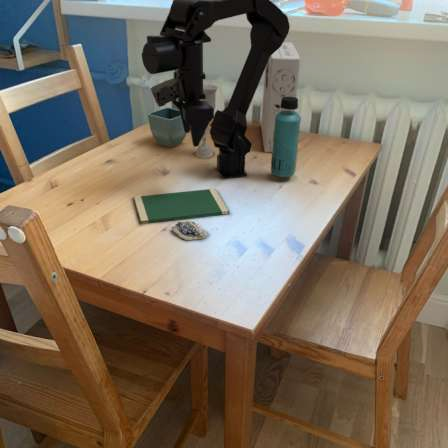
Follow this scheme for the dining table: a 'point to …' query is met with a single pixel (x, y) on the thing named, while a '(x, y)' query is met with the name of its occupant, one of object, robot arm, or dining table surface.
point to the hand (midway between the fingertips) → (191, 139)
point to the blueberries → (188, 230)
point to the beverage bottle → (286, 139)
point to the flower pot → (167, 126)
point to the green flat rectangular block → (179, 206)
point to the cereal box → (278, 88)
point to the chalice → (204, 149)
